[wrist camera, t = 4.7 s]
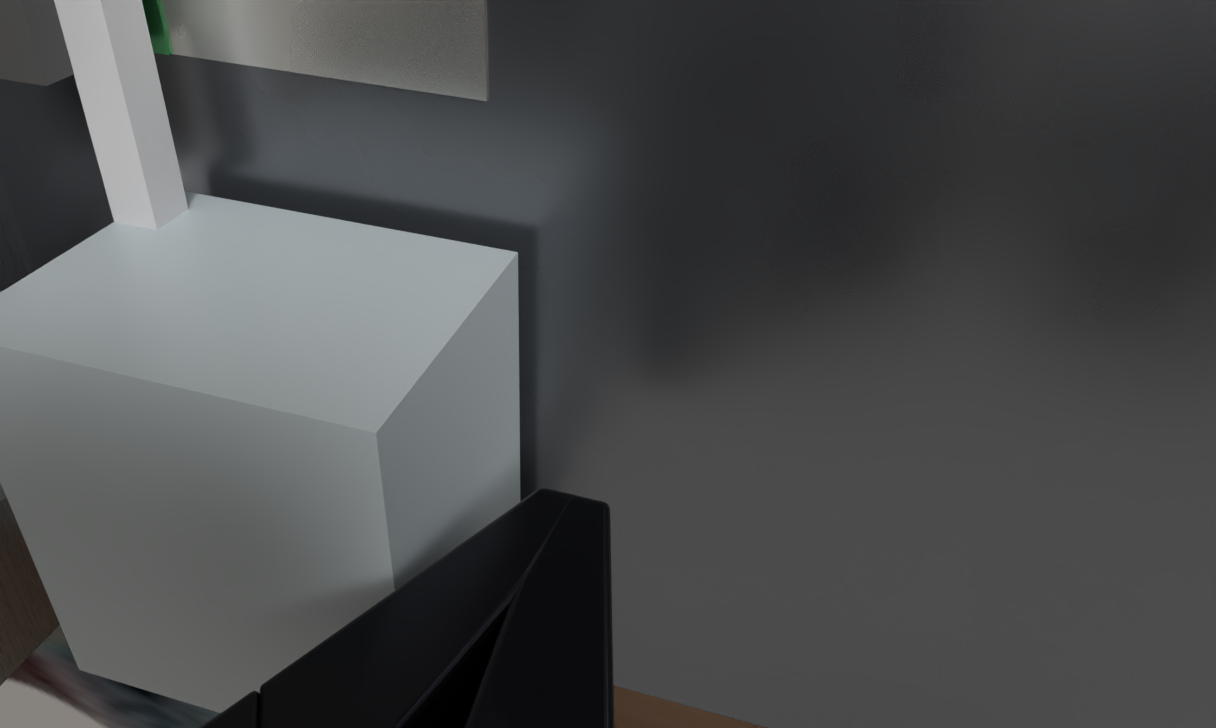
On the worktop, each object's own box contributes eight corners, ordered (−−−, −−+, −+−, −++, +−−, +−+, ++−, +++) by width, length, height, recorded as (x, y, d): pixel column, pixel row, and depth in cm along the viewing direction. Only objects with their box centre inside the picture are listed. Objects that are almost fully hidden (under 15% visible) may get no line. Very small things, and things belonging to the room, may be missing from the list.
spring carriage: (514, -61, 8) (328, 39, 6) (520, 563, 12) (417, 772, 10) (99, -109, 9) (-218, -37, 6) (239, 492, 13) (79, 669, 11)
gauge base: (1630, -45, 7) (2407, 243, 3) (1151, 735, 13) (1238, 1180, 9) (-147, -211, 11) (-772, -161, 7) (87, 464, 17) (-182, 703, 13)
